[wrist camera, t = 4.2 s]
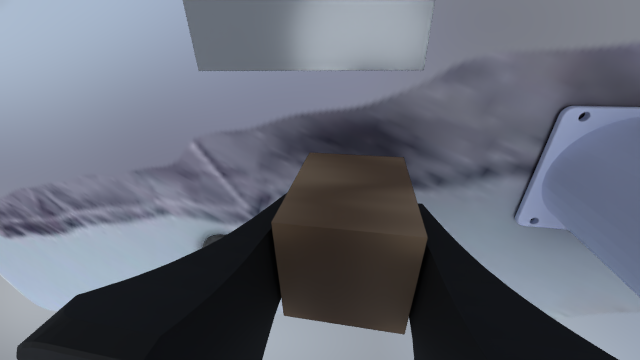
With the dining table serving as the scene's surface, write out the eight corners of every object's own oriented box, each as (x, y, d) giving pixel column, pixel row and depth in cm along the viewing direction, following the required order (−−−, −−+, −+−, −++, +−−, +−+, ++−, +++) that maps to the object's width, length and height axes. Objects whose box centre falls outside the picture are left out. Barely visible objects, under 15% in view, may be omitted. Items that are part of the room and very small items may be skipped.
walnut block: (403, 157, 11) (427, 237, 6) (392, 232, 12) (404, 334, 8) (309, 152, 11) (271, 222, 7) (312, 225, 13) (283, 315, 9)
